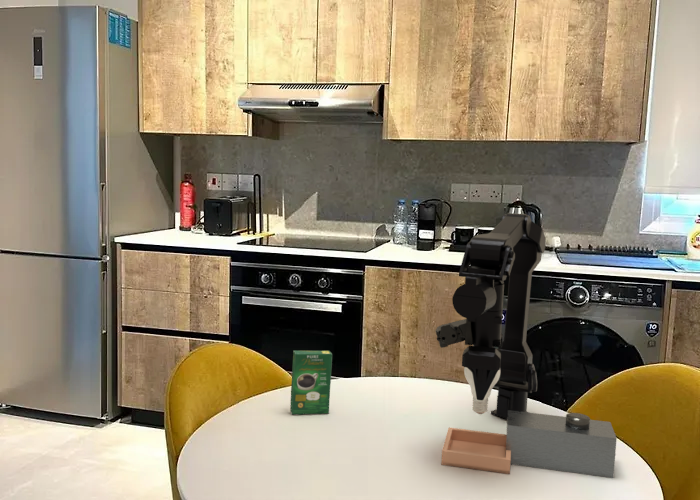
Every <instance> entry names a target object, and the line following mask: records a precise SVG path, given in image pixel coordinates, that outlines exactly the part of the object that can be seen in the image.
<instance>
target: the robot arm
mask: <svg viewBox="0 0 700 500" xmlns="http://www.w3.org/2000/svg"><path fill="white" fill-rule="evenodd" d="M546 240H547V239H546V235H545V232H544V229H543V228H542V227H541V226H539V224H537V223H535V222H534V221H532V219H531V216H530V215H528V214H527V213H513V212H512V213H511V212H507V213H506V214H505V213H504V214H503V215H502V219H501V221H500V222H499V223H498V224H497V225H496V226H495V227H494V228H493V229H492V230H491V231H490V232H489V233H482V234H481V233H480V234H477V235H475V236H473V237H472V238H471V239H470V241H469V242H467V244H466V245H465V249H464V255H463V257H462V261H461V265H460V268H459V271H458V277H462V278H464V284H461V285H459V286H458V287H457V288H456V289H455V291H454V294H453V296H452V299H451V300H452V307H453V308H454V310H455V312H456V313H457V314H458V315H459V316H461V317H462V318H464V319H462V320H461V319H460V320H456V321H453V322H447V323H444V324H441V325H439V326H437V327H436V329H435V334H436V341H438V344H439V346H440V348H443V349H444V348H448V346H451V345H454V344H458V343H462V342H464V345H465V346H467V347H466V348H465V349H464V350H463V352H462V357H461V367H463V368H464V367H467V368H468V369H469V370H470V371H471V372H472V374H473V379H474V385H475V391H476V397H477V400H484V398H485V395H486V393H487V391H488V389H489V387H490V385H491V383H492V381H493V380H494V378H495V376H496V374H497V372H498V370H500V371H501V372H500V378H499V380H498V382H497V383H496V384H495V386H494V387H496V388H497V395H496V396H497V397H496V408H495V409H493V410H490V414H491V415H493V416H496V417H500V418H502V419H504V420H507V419H508V410H511V411H520V412H528V413H530V412H529V411H527V408H528V395H529V394H532V393H533V392H534V393H535V392H537V391H538V377H537V376H538V375H537V371H536V368H535V365H534V363H533V353H532V351H531V349H530V347H529V345H528V343H527V332H528V322H529V311H530V310H529V309H530V301H531V300H530V299H531V287H532V278H533V277H532V276H533V272H534V271H535V269H536V268H537V266H538V265H539V264H540V263H541V261H542V255H543V254H544V253H545V251H546V245H547V244H546ZM507 277H509V278H508V285H507V286H508V288H507V300H506V310H505V311H506V312H505V320H504V321H505V322H504V332H503V333H504V334H503V333H502V326H503V325H502V324H503V315H504V314H503V311H504V309H503V307H504V296H505V295H504V291H505V282H504V281H506V280H507Z"/></svg>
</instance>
